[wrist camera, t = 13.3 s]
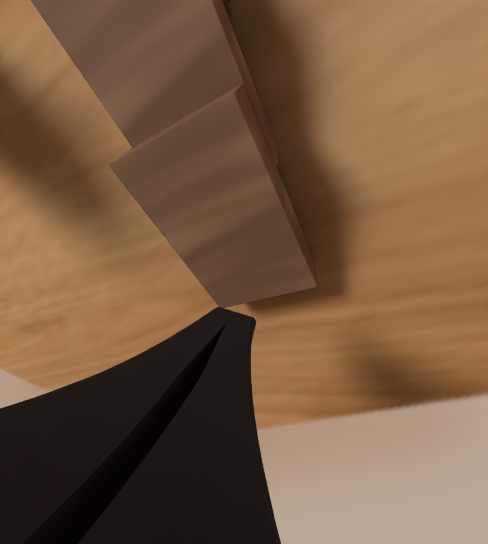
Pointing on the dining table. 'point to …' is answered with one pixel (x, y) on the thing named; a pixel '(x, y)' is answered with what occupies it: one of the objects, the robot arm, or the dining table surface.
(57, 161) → the dining table surface
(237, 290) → the walnut domino
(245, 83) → the walnut domino
